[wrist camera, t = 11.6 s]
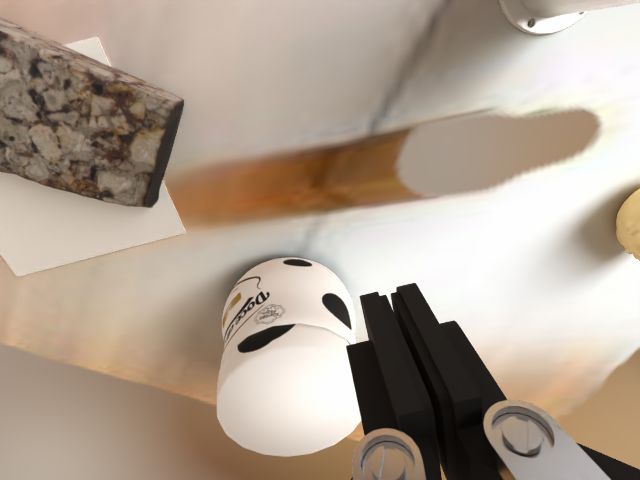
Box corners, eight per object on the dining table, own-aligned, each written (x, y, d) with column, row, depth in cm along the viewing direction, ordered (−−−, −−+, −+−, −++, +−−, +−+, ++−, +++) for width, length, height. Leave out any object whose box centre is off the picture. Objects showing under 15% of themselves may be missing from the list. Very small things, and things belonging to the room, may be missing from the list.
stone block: (189, 96, 40) (-28, 4, 34) (177, 98, 33) (-94, -14, 27) (158, 203, 44) (-41, 139, 38) (142, 224, 37) (-101, 151, 31)
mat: (97, 36, 35) (96, 36, 35) (186, 232, 45) (185, 233, 45) (-117, 93, 35) (-120, 93, 35) (18, 275, 45) (17, 277, 45)
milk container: (214, 257, 47) (181, 357, 31) (343, 239, 48) (377, 327, 32) (240, 354, 55) (225, 475, 39) (351, 337, 56) (381, 448, 40)
